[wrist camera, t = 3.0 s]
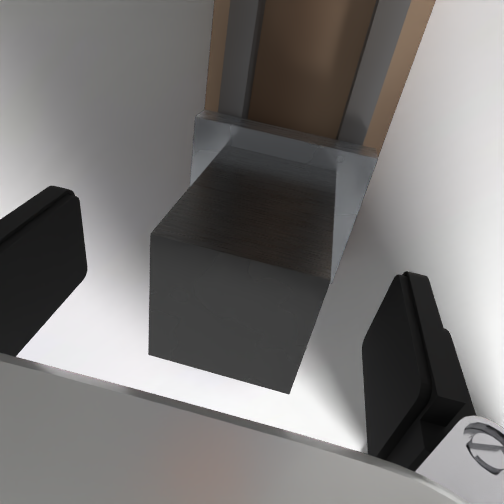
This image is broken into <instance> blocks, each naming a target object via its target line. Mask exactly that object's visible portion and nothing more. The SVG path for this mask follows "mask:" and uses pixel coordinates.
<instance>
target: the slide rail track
mask: <svg viewBox="0 0 504 504" xmlns="http://www.w3.org/2000/svg"><path fill="white" fill-rule="evenodd" d="M435 1H436V0H214V11H213V22H212V33H211V44H210V55H209V65H208V76H207V87H206V98H205V109H204V110H210V111H214V112H219V113H223V114H227V115H232V116H236V117H240V118H245V119H249V120H253V121H258V122H262V123H266V124H271V125H275V126H280V127H284V128H288V129H293V130H297V131H301V132H306V133H310V134H314V135H319V136H323V137H327V138H332V139H336V140H340V141H345V142H349V143H354V144H358V145H362V146H367V147H371V148H375V149H376V152H377V157H378V156H379V153H380V151H381V148H382V145H383V142H384V140H385V137H386V134H387V132H388V129H389V126H390V123H391V121H392V118H393V115H394V113H395V110H396V107H397V104H398V102H399V99H400V96H401V93H402V91H403V88H404V85H405V83H406V80H407V77H408V74H409V72H410V69H411V66H412V64H413V61H414V58H415V55H416V53H417V50H418V47H419V44H420V42H421V39H422V36H423V34H424V31H425V28H426V25H427V23H428V20H429V17H430V15H431V12H432V9H433V6H434V4H435Z"/></svg>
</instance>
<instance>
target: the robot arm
mask: <svg viewBox="0 0 504 504" xmlns="http://www.w3.org/2000/svg"><path fill="white" fill-rule="evenodd" d="M86 273H87V260H86V251H85V243H84V234H83V226H82V217H81V208H80V201H79V198H78V197H77V196H75V194H74V192H73V191H72V190H69V189H65V188H60V187H56V186H49V187H47V188H46V189H44V190H43V191H41V192H40V193H39V194H37V195H36V196H34V197H33V198H31V199H30V200H28V201H27V202H25V203H24V204H22V205H21V206H19V207H18V208H17V209H15V210H14V211H12V212H11V213H9V214H8V215H6V216H5V217H3V218H2V219H0V504H504V428H503V427H501V426H500V425H498V424H497V423H495V422H493V421H491V420H489V419H486V418H484V417H479V416H476V414H475V411H474V407H473V404H472V401H471V398H470V395H469V392H468V389H467V385H466V382H465V379H464V376H463V373H462V370H461V366H460V363H459V360H458V357H457V354H456V351H455V347H454V344H453V341H452V338H451V335H450V333H449V331H448V330H446V329H444V328H443V325H442V322H441V318H440V315H439V312H438V308H437V305H436V302H435V299H434V295H433V292H432V289H431V285H430V282H429V279H428V277H427V276H424V275H420V274H416V273H412V272H408V271H406V272H404V273H403V274H402V275H396V276H395V277H394V279H393V281H392V283H391V285H390V287H389V289H388V291H387V293H386V295H385V297H384V299H383V301H382V304H381V306H380V308H379V310H378V312H377V314H376V316H375V318H374V320H373V322H372V324H371V326H370V328H369V330H368V332H367V334H366V336H365V338H364V341H363V345H362V360H363V376H364V393H365V410H366V427H367V444H368V454H365V453H362V452H358V451H355V450H352V449H348V448H345V447H341V446H338V445H335V444H331V443H328V442H324V441H321V440H318V439H314V438H311V437H307V436H304V435H301V434H297V433H293V432H290V431H286V430H283V429H279V428H275V427H272V426H268V425H265V424H261V423H257V422H254V421H250V420H247V419H243V418H239V417H236V416H232V415H229V414H225V413H221V412H218V411H214V410H211V409H207V408H203V407H200V406H196V405H192V404H189V403H185V402H181V401H178V400H174V399H170V398H167V397H163V396H159V395H156V394H152V393H148V392H145V391H141V390H137V389H134V388H130V387H126V386H122V385H119V384H115V383H111V382H108V381H104V380H100V379H97V378H93V377H89V376H85V375H82V374H78V373H74V372H70V371H67V370H63V369H59V368H55V367H52V366H48V365H44V364H40V363H37V362H33V361H29V360H25V359H22V358H18V357H16V356H17V354H18V353H19V352H20V351H21V350H22V349H23V348H24V346H25V345H26V344H27V343H28V342H29V341H30V340H31V338H32V337H33V336H34V335H35V334H36V333H37V332H38V331H39V329H40V328H41V327H42V326H43V325H44V324H45V323H46V321H47V320H48V319H49V318H50V317H51V316H52V315H53V313H54V312H55V311H56V310H57V309H58V308H59V307H60V306H61V304H62V303H63V302H64V301H65V300H66V299H67V298H68V296H69V295H70V294H71V293H72V292H73V291H74V290H75V288H76V287H77V286H78V285H79V284H80V283H81V282H82V281H83V279H84V278H85V276H86Z"/></svg>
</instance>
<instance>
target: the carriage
mask: <svg viewBox="0 0 504 504" xmlns="http://www.w3.org/2000/svg"><path fill="white" fill-rule="evenodd" d="M377 160H378V157H377V152H376V149H375V148H371V147H367V146H362V145H358V144H354V143H349V142H345V141H340V140H336V139H332V138H327V137H323V136H319V135H314V134H310V133H306V132H301V131H297V130H293V129H288V128H284V127H280V126H275V125H271V124H266V123H262V122H258V121H253V120H249V119H245V118H240V117H236V116H232V115H227V114H223V113H219V112H214V111H210V110H203V111H202V112H201V113H199V114H198V115H197V116H195V126H194V139H193V151H192V164H191V176H190V188H189V189H188V190H187V191H186V192H185V194H184V195H183V196H182V197H181V198H180V199H179V201H178V202H177V203H176V204H175V205H174V207H173V208H172V209H171V210H170V211H169V213H168V214H167V215H166V216H165V217H164V218H163V220H162V221H161V222H160V223H159V224H158V226H157V227H156V228H155V229H154V230H153V232H152V233H151V239H150V296H149V353H148V355H151V356H155V357H159V358H162V359H166V360H169V361H173V362H176V363H180V364H183V365H187V366H190V367H194V368H197V369H201V370H205V371H208V372H212V373H215V374H219V375H222V376H226V377H229V378H233V379H236V380H240V381H243V382H247V383H251V384H254V385H258V386H261V387H265V388H268V389H272V390H275V391H279V392H282V393H286V394H290V391H291V388H292V385H293V383H294V380H295V377H296V374H297V372H298V369H299V366H300V363H301V361H302V358H303V355H304V352H305V350H306V347H307V344H308V341H309V339H310V336H311V333H312V330H313V328H314V325H315V322H316V319H317V317H318V314H319V311H320V308H321V306H322V303H323V300H324V297H325V295H326V292H327V289H328V286H329V284H330V283H331V284H332V282H333V279H334V277H335V274H336V271H337V269H338V266H339V263H340V260H341V258H342V255H343V252H344V250H345V247H346V244H347V241H348V239H349V236H350V233H351V231H352V228H353V225H354V222H355V220H356V217H357V214H358V211H359V209H360V206H361V203H362V201H363V198H364V195H365V192H366V190H367V187H368V184H369V182H370V179H371V176H372V173H373V171H374V168H375V165H376V163H377Z"/></svg>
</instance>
